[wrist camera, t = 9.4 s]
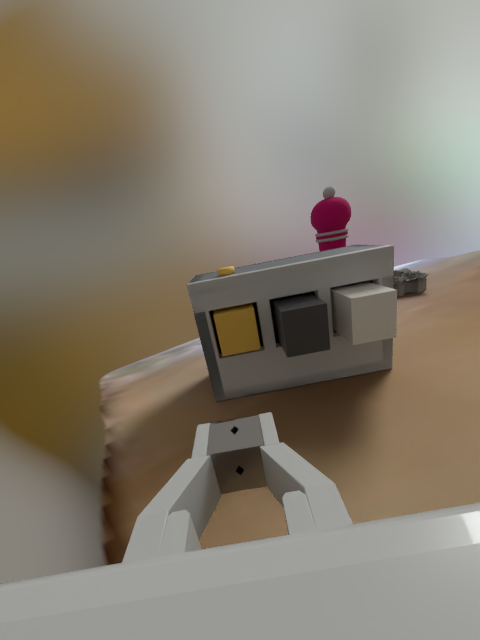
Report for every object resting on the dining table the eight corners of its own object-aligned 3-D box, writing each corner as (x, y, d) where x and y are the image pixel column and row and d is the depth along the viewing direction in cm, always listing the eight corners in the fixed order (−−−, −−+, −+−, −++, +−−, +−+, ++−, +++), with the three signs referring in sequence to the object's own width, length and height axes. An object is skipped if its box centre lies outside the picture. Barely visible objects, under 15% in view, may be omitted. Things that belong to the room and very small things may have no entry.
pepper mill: (346, 319, 39) (339, 179, 32) (307, 314, 44) (294, 194, 38) (366, 305, 43) (363, 179, 37) (328, 302, 48) (320, 192, 42)
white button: (369, 322, 24) (368, 281, 23) (396, 337, 20) (397, 289, 19) (332, 328, 24) (330, 289, 23) (353, 345, 20) (351, 298, 19)
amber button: (255, 333, 26) (249, 298, 25) (260, 349, 22) (253, 308, 21) (223, 339, 26) (215, 304, 25) (222, 356, 22) (213, 315, 21)
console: (358, 342, 31) (355, 239, 27) (392, 368, 24) (394, 238, 20) (218, 369, 31) (194, 270, 27) (216, 401, 24) (184, 278, 21)
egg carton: (365, 287, 55) (365, 269, 54) (401, 282, 54) (401, 263, 52) (388, 299, 45) (388, 277, 43) (433, 292, 44) (434, 269, 42)
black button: (313, 332, 24) (310, 293, 23) (330, 349, 20) (326, 303, 19) (277, 339, 24) (272, 300, 23) (287, 357, 20) (281, 311, 19)
